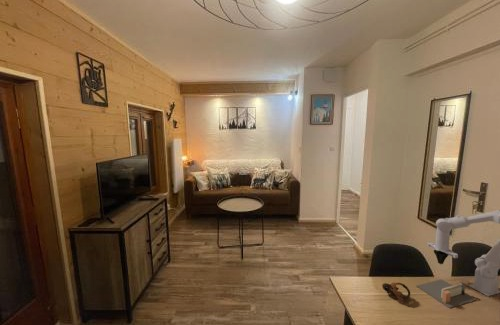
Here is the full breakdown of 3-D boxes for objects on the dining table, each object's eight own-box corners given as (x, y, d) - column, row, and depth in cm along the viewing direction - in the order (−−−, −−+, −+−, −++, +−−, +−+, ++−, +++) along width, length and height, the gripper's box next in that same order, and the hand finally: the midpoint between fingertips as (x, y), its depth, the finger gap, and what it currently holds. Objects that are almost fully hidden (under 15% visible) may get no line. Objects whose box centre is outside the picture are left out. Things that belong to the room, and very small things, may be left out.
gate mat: (441, 279, 124) (441, 279, 124) (476, 300, 109) (476, 299, 109) (416, 286, 120) (416, 285, 120) (449, 308, 105) (449, 307, 104)
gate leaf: (458, 292, 113) (459, 283, 113) (461, 293, 112) (462, 284, 112) (441, 297, 110) (441, 288, 110) (443, 299, 109) (444, 289, 109)
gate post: (460, 292, 114) (461, 281, 114) (465, 294, 112) (466, 284, 112) (457, 293, 114) (458, 282, 113) (462, 295, 112) (463, 285, 111)
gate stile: (446, 299, 109) (447, 290, 109) (450, 301, 108) (450, 292, 107) (441, 300, 109) (442, 291, 108) (445, 303, 107) (446, 293, 107)
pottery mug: (402, 291, 118) (410, 283, 113) (406, 309, 110) (414, 302, 105) (378, 282, 120) (384, 275, 116) (380, 300, 113) (387, 293, 108)
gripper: (423, 236, 128) (422, 257, 130) (451, 248, 114) (449, 272, 116) (432, 234, 130) (431, 255, 132) (461, 245, 116) (459, 269, 118)
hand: (440, 263), depth 124 cm, fingers closed
